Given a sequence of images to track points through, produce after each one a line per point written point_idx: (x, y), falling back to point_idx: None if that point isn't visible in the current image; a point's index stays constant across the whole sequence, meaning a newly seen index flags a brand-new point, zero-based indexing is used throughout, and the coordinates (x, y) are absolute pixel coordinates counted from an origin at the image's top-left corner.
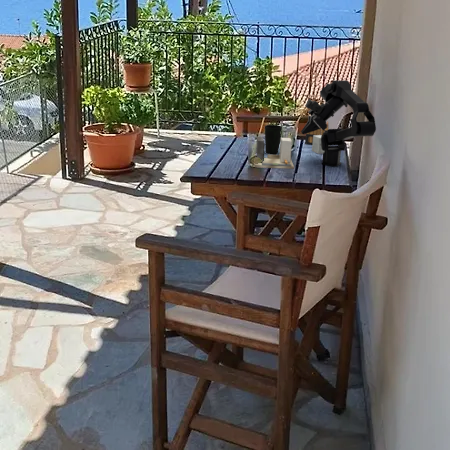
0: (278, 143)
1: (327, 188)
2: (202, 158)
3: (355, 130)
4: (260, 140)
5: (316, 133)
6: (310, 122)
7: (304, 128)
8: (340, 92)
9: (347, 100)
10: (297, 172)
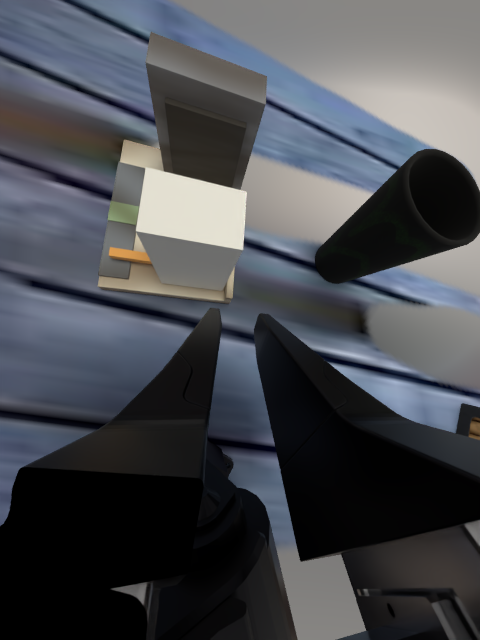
0: (350, 264)
1: None
2: (241, 40)
3: None
4: (163, 51)
5: None
6: (84, 437)
7: (271, 343)
8: None
9: None
10: (34, 291)
